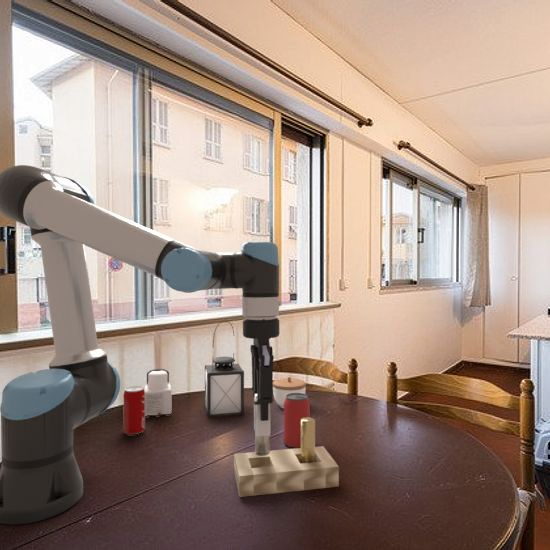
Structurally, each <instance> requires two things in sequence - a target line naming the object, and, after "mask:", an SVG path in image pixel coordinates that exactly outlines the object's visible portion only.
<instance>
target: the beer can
mask: <svg viewBox="0 0 550 550" xmlns="http://www.w3.org/2000/svg"><path fill="white" fill-rule="evenodd" d="M310 405H311V404H310V400H309V396H308V395H307V394H306V393H305V394H302V393H290V394H287V395H286V399H285V401H284V409H283V443H284V444H285V446H287V447H288V448H291V449H296V448H301V419H302V418H305V417H309V418H311V408H310V407H311V406H310Z"/></svg>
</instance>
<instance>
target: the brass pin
mask: <svg viewBox="0 0 550 550" xmlns="http://www.w3.org/2000/svg"><path fill="white" fill-rule="evenodd" d="M315 447H316V419H315V418H313V417H310V418H309V417H305V418H302V419H301V464H302V463H312V462H315Z"/></svg>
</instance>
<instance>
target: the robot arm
mask: <svg viewBox="0 0 550 550" xmlns="http://www.w3.org/2000/svg"><path fill="white" fill-rule="evenodd" d="M0 213H1V215H3V216H4V217H6V218H8V219H9V220H11V221H14V222H16V223H19V224H22V225H25V226H27V227H29V230H30V238H31V240H32V241H34V242H35V243H36V244H38V245H39V246H40V250H41V251H40V252H41V258H42V266H43V267H42V268H43V273H44V281H45V288H46V294H47V295H46V296H47V301H48V302H47V303H48V309H49V310H48V311H49V317H50V318H49V319H50V323H51V331H52V338H53V345H54V353H55V355H54V357H53V358H52V359H51V360H50V362H49V363H48V367H49V368H47V369H46V368H45V369H40V370H37V371H34V372H33V371H30V372H27V373H24V374H21V375H19V376H17V377H15V378H13V379H12V380H10V381H8V383H7V384H6V385H5V386H4V387H3V389H2V392H1V402H0V425H1V426H0V431H1V433H0V436H1V438H0V440H1V445H0V446H1V447H0V448H1V467H0V524H3V525H25V524H32V523H35V522H37V523H38V522H41V521H44V520H47V519H50V518H53V517H55V516H57V515H59V514H62V513H64V512H65V511H67V510H69V509H71V508H72V507H74V505H76V504H77V503H78V502H79V501H80V500H81V499H82V496H83V495H84V480H83V479H84V478H83V476H82V473H81V470H80V467H79V465H78V463H77V460H76V457H75V454H74V430H75V429H76V428H78V427H80V426H81V425H83V424H86V423H87V422H89V421H90V420H91V419H94V418H96V417H98V416H100V415H102V414H103V413H104V412H105V411H107V410H108V408H110V407H112V405H114V403H115V402H116V400H117V399H118V396H119V393H120V390H121V378H120V375H119V372H118V370H117V368H116V367H114V366H113V364H111V362H109V361H108V354H107V352H106V351H104V350H103V349H101V348H100V347H99V343H98V336H97V329H96V322H95V313H94V307H93V300H92V293H91V286H90V278H89V272H88V271H89V270H88V265H87V263H88V262H87V256H86V251H85V250H86V249H85V247H88V248H91V249H92V250H94V251H97V252H99V253H102V254H103V255H106V256H109V257H111V258H113V259H115V260H117V261H119V262H122V263H124V264H127V265H129V266H131V267H134V268H136V269H138V270H141V271H142V272H145V273H146V274H148V275H151V276H154V277H155V278H158V279H160V280H162V281H164V282H165V284H166V285H167V286H168V287H169V288H170V289H172V290H173V291H177V292H180V293H181V292H182V293H185V294H186V293H187V294H188V293H189V294H190V293H195V292H198V291H207V290H216V289H217V290H218V289H219V290H220V289H221V290H222V289H225V290H226V289H229V290H230V289H235V290H237V289H241V290H242V297H241V300H242V301H241V302H242V303H241V304H242V306H241V310H242V311H241V312H242V316H243V317H245V318H243V319H242V336H243V337H244V338H245V339H252V340H253V342H252V343H253V344H251V345H250V353H251V354H250V355H251V384H252V385H251V386H252V387H251V390H252V395H253V397H254V398H253V430H254V431H255V405H256V417H257V437H258V436H269V435H270V436H271V433H272V432H271V404H273V402H274V399H273V380H274V379H273V378H274V376H273V373H274V372H273V371H274V367H273V366H274V358H275V356H274V354H273V353H274V352H273V346H271V344H270V339H271V338H272V339H275V338H278V337H279V336H280V319H279V318H277V317H278V316H279V315H280V308H279V306H282V304H283V303H282V300H280V298H279V297H280V263H279V248H278V247H279V246H278V245H277V244H276V243H274V242H272V241H247V242H244V243H242V246H241V249H240V251H237V252H212V251H208V250H207V251H205V250H201V249H198V248H195V247H193V246H190V245H188V244H186V243H183V242H182V241H179V240H176V239H173V238H171V237H169V236H167V235H165V234H162V233H160V232H158V231H155V230H153V229H151V228H148V227H146V226H143V225H141V224H139V223H136V222H135V221H132V220H131V219H130V220H129V219H128V218H125V217H123V216H120V215H118V214H116V213H113V212H112V211H110V210H106V209H104V208H102V207H100V206H97V205H96V202H95V199H94V197H93V195H92V193H91V192H90V190H89V189H88V188H86V187H85V186H84V185H83V184H81V183H79V182H77V181H76V180H74V179H72V178H68V177H66V176H61V175H58V174H55V173H52V172H50V171H47V170H43V169H41V168H39V167H36V166H32V165H28V164H27V165H25V164H24V165H23V164H20V165H19V164H18V165H14V166H10V167H8V168H7V167H6V168H5V169H4V170H2V171H1V172H0ZM255 393H257V396H258V400H257V401H255Z"/></svg>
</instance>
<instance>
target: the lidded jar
mask: <svg viewBox="0 0 550 550" xmlns="http://www.w3.org/2000/svg"><path fill="white" fill-rule="evenodd" d="M306 385H307V382H306V381H305V380H304V379H300V378H293V377H291V376H287V377H285V378H284V377H283V378H279V379H274V381H273V389H272V396H273V398H274V400H275V402H276V403H277V405H279V407H280V408H281V409H282V410H284V401H285V399H286V395H287V394H290V393H302V394H306Z"/></svg>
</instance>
